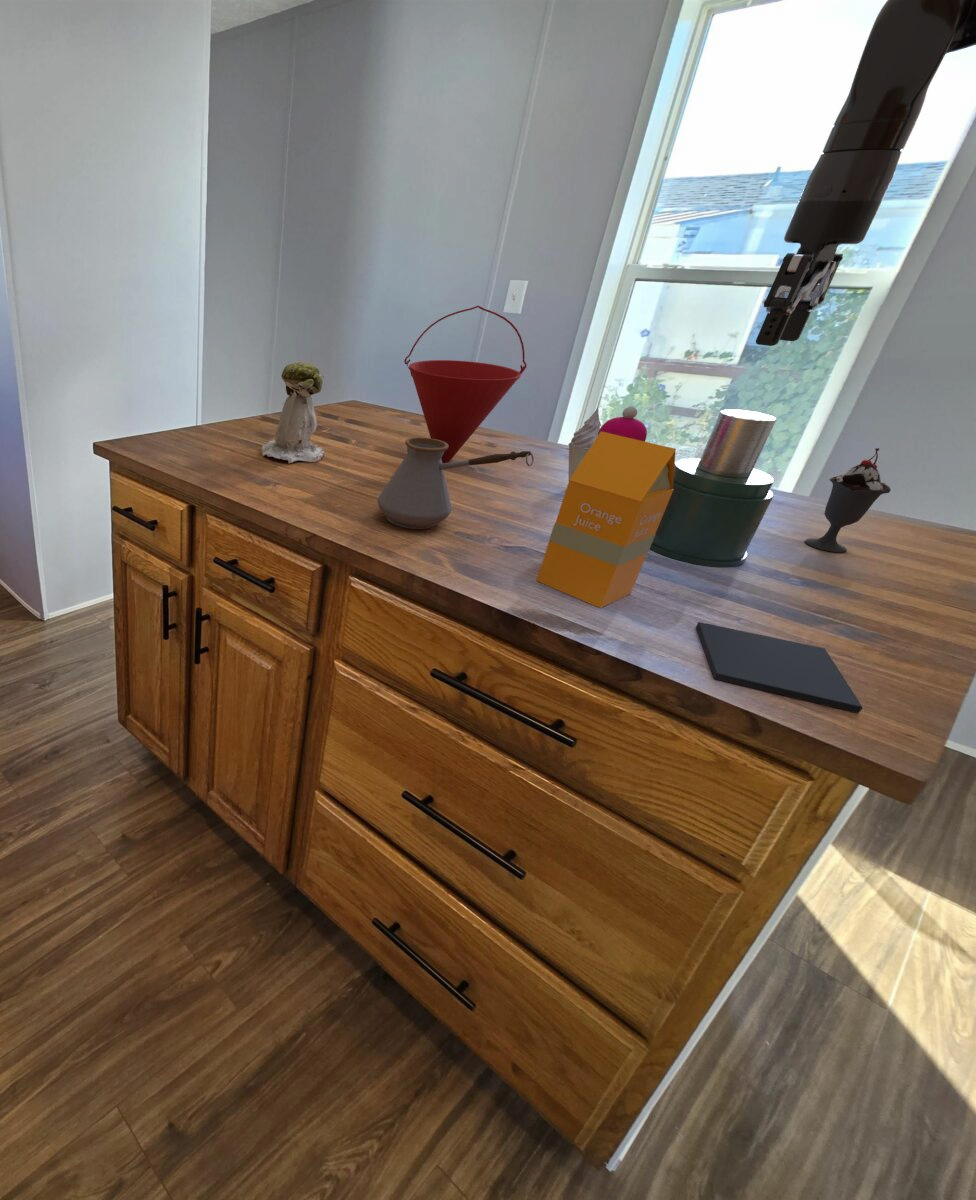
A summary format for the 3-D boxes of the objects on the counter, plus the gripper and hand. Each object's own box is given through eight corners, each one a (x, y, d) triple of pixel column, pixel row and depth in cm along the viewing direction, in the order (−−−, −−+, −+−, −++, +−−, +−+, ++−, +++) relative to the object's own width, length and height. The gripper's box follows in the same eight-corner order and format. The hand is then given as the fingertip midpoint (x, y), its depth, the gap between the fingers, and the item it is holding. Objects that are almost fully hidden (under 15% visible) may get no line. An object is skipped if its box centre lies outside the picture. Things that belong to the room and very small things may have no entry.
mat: (821, 653, 75) (825, 647, 74) (858, 713, 65) (863, 707, 65) (695, 627, 79) (698, 621, 79) (713, 679, 70) (717, 673, 70)
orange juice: (566, 567, 93) (616, 427, 83) (631, 593, 86) (693, 444, 77) (534, 580, 89) (582, 435, 79) (600, 608, 83) (661, 454, 73)
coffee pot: (361, 519, 107) (376, 427, 100) (397, 502, 114) (414, 415, 107) (489, 562, 94) (518, 460, 87) (521, 540, 101) (550, 444, 94)
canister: (734, 539, 103) (770, 465, 97) (755, 575, 92) (797, 494, 86) (632, 522, 108) (660, 451, 102) (641, 554, 97) (672, 476, 91)
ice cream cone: (585, 495, 119) (614, 412, 111) (554, 490, 121) (580, 408, 113) (585, 487, 122) (613, 406, 115) (555, 482, 125) (581, 402, 117)
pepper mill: (558, 523, 107) (599, 399, 97) (608, 530, 105) (656, 404, 95) (562, 540, 101) (607, 409, 91) (616, 548, 99) (667, 415, 89)
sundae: (834, 538, 103) (886, 445, 96) (864, 556, 98) (923, 459, 90) (787, 535, 104) (835, 442, 97) (815, 553, 99) (868, 456, 91)
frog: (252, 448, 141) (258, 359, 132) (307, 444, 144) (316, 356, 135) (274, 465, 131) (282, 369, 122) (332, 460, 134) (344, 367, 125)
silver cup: (744, 468, 95) (770, 412, 91) (754, 480, 90) (782, 422, 86) (693, 461, 98) (716, 407, 94) (700, 473, 93) (725, 416, 89)
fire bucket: (489, 458, 138) (530, 302, 123) (508, 489, 121) (558, 313, 106) (384, 449, 142) (410, 298, 127) (388, 478, 125) (419, 308, 110)
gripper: (866, 195, 72) (794, 351, 80) (897, 200, 79) (828, 342, 87) (782, 196, 77) (722, 343, 85) (818, 201, 84) (760, 335, 92)
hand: (776, 342), depth 86 cm, fingers open, 8 cm apart
